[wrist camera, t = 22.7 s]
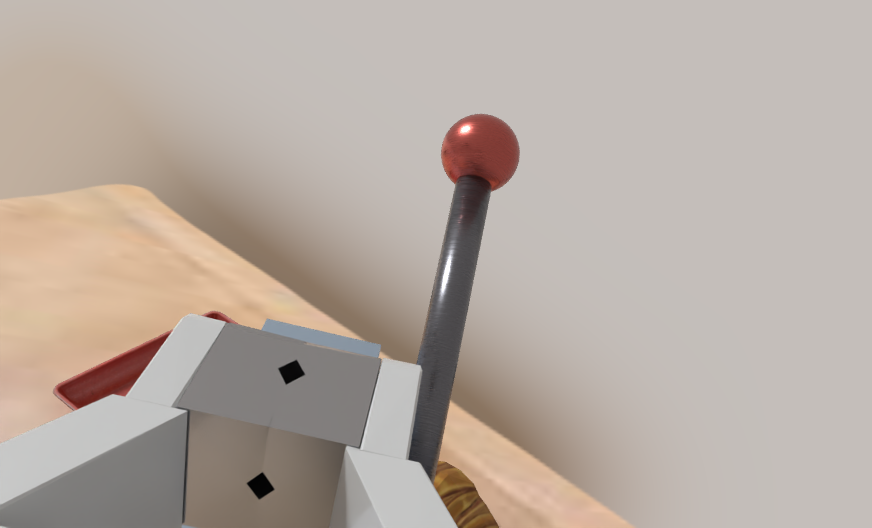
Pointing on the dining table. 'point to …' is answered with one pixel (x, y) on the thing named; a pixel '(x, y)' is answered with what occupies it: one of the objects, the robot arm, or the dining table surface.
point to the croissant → (462, 498)
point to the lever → (457, 268)
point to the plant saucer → (115, 372)
